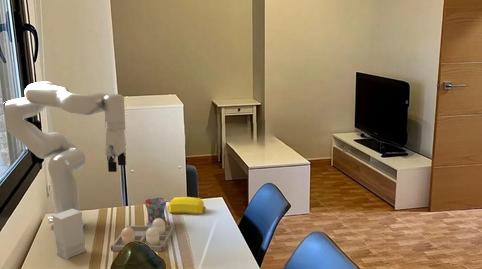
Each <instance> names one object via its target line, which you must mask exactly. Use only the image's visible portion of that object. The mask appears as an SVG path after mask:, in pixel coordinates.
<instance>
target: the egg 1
mask: <svg viewBox="0 0 482 269" xmlns="http://www.w3.org/2000/svg"><path fill="white" fill-rule="evenodd" d="M126 227H127V226H126ZM126 227H125V228H123V229H122V230H121V233H120V234H121V236H122V245H124V246H125V245H126V244H128V243H130V242H133V241H135V233H134V230H133V229H132V228H130V227H127V228H126Z"/></svg>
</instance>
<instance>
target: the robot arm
mask: <svg viewBox="0 0 482 269" xmlns="http://www.w3.org/2000/svg"><path fill="white" fill-rule="evenodd" d="M23 94H24V97H19V98H13V99H11V100H10V99H9V100H7V101H5V102H6V103H5V102H4V103H5V121H6V127H7V130H8V131H7V130H6V131H7V132H8V133H9V134H10V135H12V136H13V137H14V138H16V139H17V140H18V141H20V143H22V145H24V146H25V147H26V148H27V149H28V150H29V151H30V152H31V153H32V154H34V155H35V157H37V158H39V159H43V160H45V159H49V158H50V160H49V161H48V164H47V169H48V170H47V171H48V173H49V176H50V180H51V184H52V191H53V192H52V193H53V201H54V210H55V214H58V213H61V212H64V211H67V210H69V209H75V210H78V211H80V212H81V206H80V197H79V188H78V186H79V185H78V182H77V179H76V177H75V175H74V173H75V172H77V171H79V170H81V169H82V168H84V166H85V165H86V162H87V159H86V155H85V153H84V151H83V150H81V149H80V147H78V146H77V145H76V144H75V143H74V142H72V141H71V140H70V139H69V138H68V137H67V135H64V134H63V133H61V132H57V131H53V132H47V133H45V132H43V131H42V130H40V129H39V128H38V127H37V126H36V125H35V124H33V123H31V122H29V121H27V120H25V119H28V118H32V117H35V116H37V115H39V114H40V113H41V112H42V111H44V110H45V109H46V108H47V107H51V108H57V109H61V110H63V111H65V112H67V113H70V114H77V115H83V116H90V115H94V114H98V113H102V112H104V124H105V125H104V126H105V139H104V142H105V148H104V151H105V156H106V159H107V171H108V172H109V173H116V172H118V168H117V165H118V166H126V165H127V159H126V158H127V157H126V156H127V155H126V154H127V153H126V150H127V148H126V145H127V143H126V142H127V141H126V134H125V130H126V114H125V113H126V110H125V97H124V96H123V95H122V94H118V93H117V94H116V93H115V94H114V93H111V94H109V93H104V92H95V93H91V94H87V95H83V94H78V93H71V92H70V91H69V89H68V87H65V86H60V85H56V84H55V83H53V82H51V81H48V80H47V81H37V82H33V83H30V84H28V85H27V86H26V88H24V93H23ZM116 159H117V161H116ZM47 221H48V222H47V223H48V224H54V223H53V216H48V217H47ZM82 223H83V228H84V227H85V226H86V221H85V220H84V219H82ZM52 227H53V228H52V229H53V230H54V225H53V226H52Z"/></svg>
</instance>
